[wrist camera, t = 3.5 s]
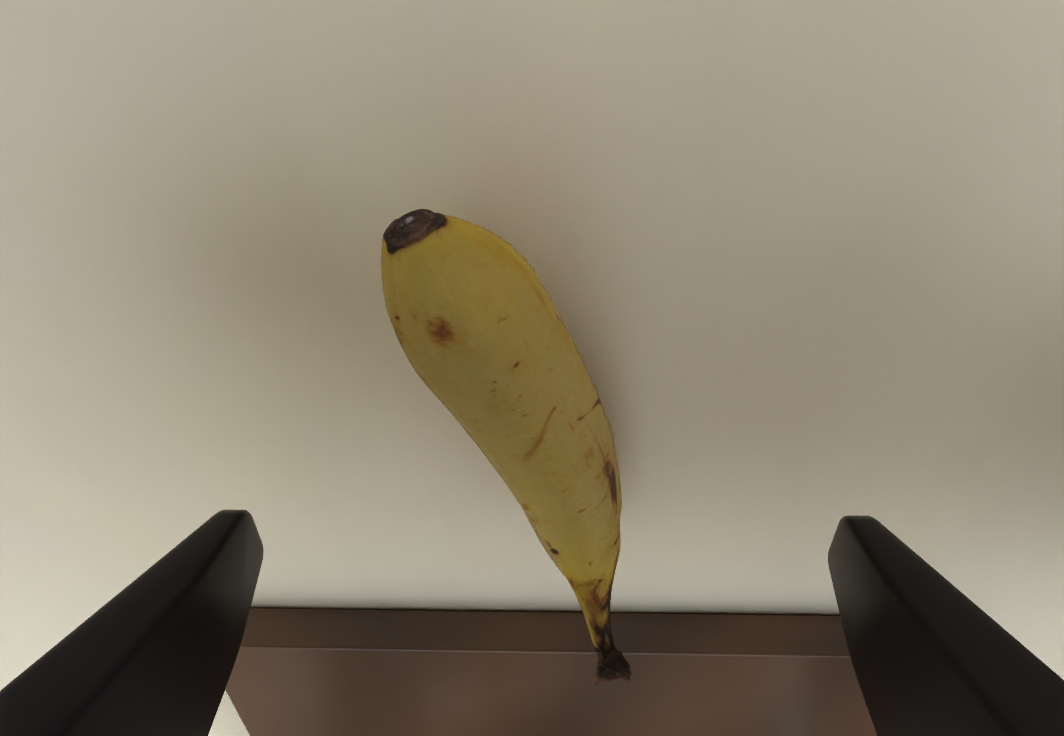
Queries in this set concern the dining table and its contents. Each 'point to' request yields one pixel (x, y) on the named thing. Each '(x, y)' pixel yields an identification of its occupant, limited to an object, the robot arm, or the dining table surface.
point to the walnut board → (542, 675)
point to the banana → (514, 395)
